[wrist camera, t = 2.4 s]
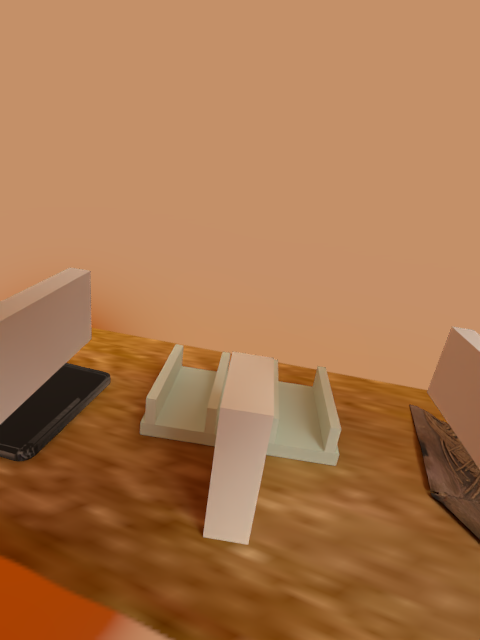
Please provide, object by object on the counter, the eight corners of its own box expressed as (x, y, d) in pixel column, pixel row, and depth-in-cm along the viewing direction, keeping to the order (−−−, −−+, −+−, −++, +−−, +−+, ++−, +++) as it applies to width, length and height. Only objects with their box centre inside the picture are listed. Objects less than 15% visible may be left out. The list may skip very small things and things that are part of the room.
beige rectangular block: (253, 467, 36) (273, 357, 32) (247, 544, 29) (273, 416, 24) (217, 461, 36) (232, 351, 32) (202, 536, 29) (220, 407, 25)
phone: (-52, 435, 34) (57, 360, 48) (-50, 445, 35) (57, 368, 48) (26, 457, 33) (114, 374, 47) (27, 467, 33) (114, 381, 47)
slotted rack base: (321, 398, 49) (329, 368, 47) (335, 465, 38) (346, 429, 36) (169, 374, 50) (171, 343, 48) (139, 434, 39) (141, 397, 37)
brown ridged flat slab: (644, 637, 27) (652, 628, 26) (490, 618, 27) (496, 608, 26) (461, 414, 51) (464, 407, 50) (379, 404, 50) (381, 397, 50)
